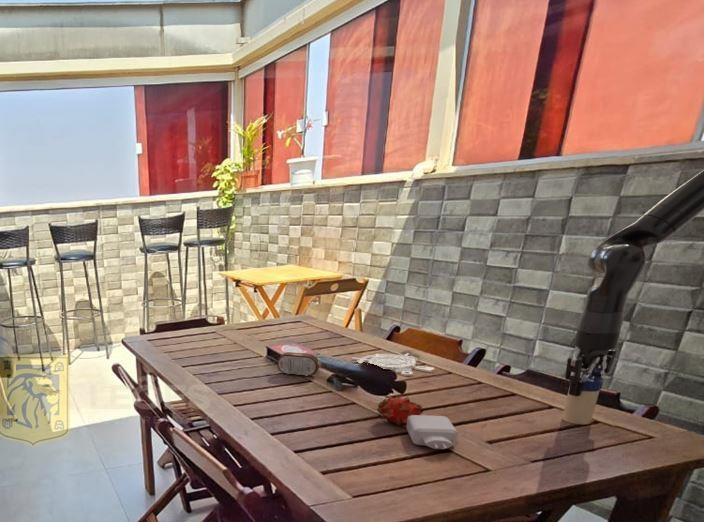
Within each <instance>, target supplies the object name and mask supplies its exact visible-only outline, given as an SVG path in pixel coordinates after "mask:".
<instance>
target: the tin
mask: <svg viewBox="0 0 704 522" xmlns="http://www.w3.org/2000/svg"><path fill="white" fill-rule="evenodd" d="M318 360H319V359H318V357H317V356H315V355H314V354H311V353H305V352H303V353H302V352H293V351H292V352H291V351H287V352H283V353H282V354H281V355H280V356H279V357H278V359H277V361H276V365H277V369H278V370H279V371H280V373H282V374H284V373H289V374H299V375H309V376H308V377H312V376H313V375H315V374H316V373H317V372H318V371H319V370H320V366H321V365H320V366H319V365H318Z"/></svg>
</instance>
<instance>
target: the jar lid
mask: <svg viewBox="0 0 704 522" xmlns="http://www.w3.org/2000/svg"><path fill="white" fill-rule="evenodd" d="M581 375H582V373H581ZM581 375H580V377H581ZM603 384H604V377H598V376H593V375H590V374H589V375H587V376H586V378H585V380H584V384H583V388H582V390H583V391H598V390H600V391H601V390H602V389H603ZM570 385H571V380H568V387H570Z"/></svg>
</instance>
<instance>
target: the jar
mask: <svg viewBox="0 0 704 522" xmlns="http://www.w3.org/2000/svg"><path fill="white" fill-rule="evenodd" d="M568 387H569V386H568ZM569 389H570V387H569V388H568V392H567V394H566V395H567V396H566V400H565V404H564V408H563V412H562V416H561V419H562V421H564V422H567V423H570V424H573V425H581V426H582V425H583V426H584V425H590V424H592V421H593V418H594V414H595V409H596V406H597V402H598V398H599V394H600V391H601V389H600V390H598V391H583V390H582V392H581V395H580V396H573V395H570V394H569Z"/></svg>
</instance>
